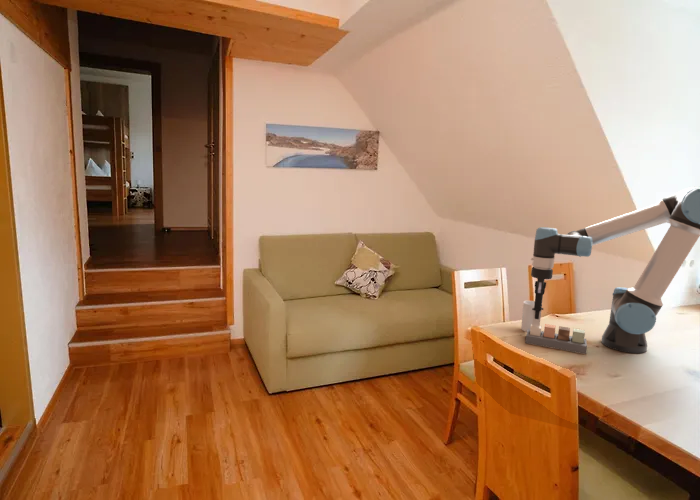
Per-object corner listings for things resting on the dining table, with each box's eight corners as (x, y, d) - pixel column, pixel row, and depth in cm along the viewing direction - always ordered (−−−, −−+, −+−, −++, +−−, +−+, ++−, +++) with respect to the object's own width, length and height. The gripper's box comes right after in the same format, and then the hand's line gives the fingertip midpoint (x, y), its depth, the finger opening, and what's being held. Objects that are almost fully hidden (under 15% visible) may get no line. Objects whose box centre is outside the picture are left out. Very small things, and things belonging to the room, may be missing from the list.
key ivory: (540, 335, 173) (541, 326, 172) (539, 338, 169) (540, 328, 169) (530, 333, 174) (531, 324, 174) (529, 336, 171) (530, 327, 170)
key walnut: (568, 337, 168) (569, 327, 168) (568, 340, 165) (569, 330, 164) (557, 335, 170) (559, 326, 169) (557, 338, 167) (558, 328, 166)
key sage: (583, 340, 166) (584, 330, 165) (583, 343, 163) (584, 333, 162) (572, 338, 168) (573, 328, 167) (572, 341, 164) (573, 331, 164)
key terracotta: (554, 335, 170) (555, 325, 170) (554, 338, 167) (555, 328, 166) (544, 333, 172) (545, 323, 171) (543, 336, 169) (544, 326, 168)
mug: (534, 334, 180) (537, 306, 178) (518, 330, 184) (520, 302, 182) (542, 328, 187) (545, 301, 185) (526, 324, 192) (529, 298, 190)
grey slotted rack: (585, 346, 168) (586, 338, 168) (586, 354, 160) (587, 346, 160) (527, 335, 178) (528, 328, 177) (525, 342, 170) (526, 335, 169)
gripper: (533, 263, 175) (527, 319, 179) (530, 269, 163) (524, 329, 167) (553, 265, 171) (547, 323, 175) (552, 271, 160) (545, 332, 164)
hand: (535, 325), depth 171 cm, fingers closed
